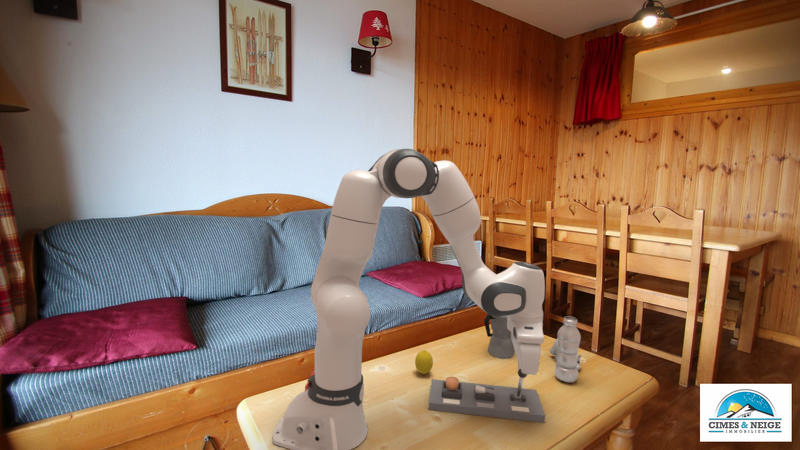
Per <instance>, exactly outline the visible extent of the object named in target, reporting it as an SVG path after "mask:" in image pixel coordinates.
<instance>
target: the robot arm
mask: <svg viewBox="0 0 800 450" xmlns="http://www.w3.org/2000/svg"><path fill="white" fill-rule="evenodd" d="M391 197H393V198H396V199H397V198H398V199H413V198H418V197H421V198H422V199H423V201H424V203H426V205H427V207H428V210H429V211H430V214H431V216H432V218H433V220H434V222H435V224H436V226H437V228H438V229H439V230H440V232H441V234H442V235H443V236H444V238H445V239H446V241H448V243H449V245H450V247H451V250H452V251H453V254H454V257H455V259H456V261H457V263H458V266H459V268H460V272H461V288H462V291H463V293H464V295H465V297H466V298H468V299H469V300H471V302H474V303H475V304H476V306H478V307H479V308H480V309H481V310H482V311H484V312H485V313H486V315H488V314H489V315H491V316H494V317H502V316H507V315H508V316H507V328H508V330H509V331H511V340H512V343H513V346H514V354H515V357H516V358H517V371H518V370H519V369H520V368H521V372H522V373H523V374H527V375H532V376H533V375H534V376H535V375H537V374H538V371H539V367H540V360H541V352H542V346H541V345H543V344H544V342H545V336H544V330H543V326H544V323H543V321H544V311H543V303H544V300H545V292H546V291H545V290H546V289H545V287H546V284H545V283H546V282H545V275H544V271H543V269H542V268H540V267H539V266H538V265H536V264H533V263H530V262H525V261H514V262H513V263H512V265H510V266H509V267H508V268H506V269H504V270H503V271H501V272H499V273H497V274H496V273H495V272H494V271H493V270H491V269H490V268H489V267H488V266H486V265H485V263H484V262H483V260H482V257H481V255H480V254H481V253H480V252H479V250H478V247H477V245H476V242H475V238H474V235H475V233H477V231H478V230H479V228H480V226H481V223H482V216H481V212H480V207H479V204H478V202H477V200H476V198H475V195H474V193H473V191H472V189H471V187H470V185H469V183H468V181H467V180H466V178H465V176H464V175H463V173H462V171H461V170H460V169H459V168H458V166H457V165H456V164H455V162H453V161H450V160H438V161H434V162H433V160H431V159H430V158H428V157H427V156H426V155H424V154H423V153H421V152H420V151H418V150H416V149H413V148H402V149H401V148H400V149H399V148H396V149H393V150H391V151H390V150H389V151H388V152H386V153H384V154H383V155H381V156H380V157H379V158H378V159H377V160H376V161H375V162H374V163H373V165H372V166H370V168H369V169H368V170H362V169H361V170H360V169H355V170H351V171H349V172H347V173H345V174H344V176H342V178H341V181H340V183H339V186H338V188H337V191H336V194H335V196H334V200H333V204H332V208H331V212H330V217H329V223H328V226H327V227H328V228H327V230H326V237H325V240H324V242H325V243H324V246H323V249H322V253H321V255H320V260H319V261H318V265H317V268H316V271H315V273H314V278H313V281H312V284H311V289H310V299H311V302H312V304H313V307H314V310H315V313H316V314H315V315H316V319H317V321H316V323H317V325H316V326H317V327H316V329H317V330H316V338H315V339H316V340H315V345H314V369H313V370H312V371H311V373H310V377H308V379H307V382H306V384H305V386H304V391H302V392H300V393H299V394H298V395H296V396H295V397H294V398H293V399H292V400H291V401H290V403H289V404H288V406H287V408H286V410H285V412H284V414H283V416H282V417H281V418H280V419H279V420H278V422H277V424H276V425H275V427H274V430H273V434H272V443H273V444H274V445H276V446H278V447H279V446H280V447H282V448H285V449H289V450H353V449H355V448H356V447H358V446H359V445H361V444H362V443H363V442H364V441H365V439H366V437H367V436H368V432H369V428H368V424H367V421H366V418H365V412H364V405H363V402H364V401H363V400H364V395H365V391H364V389H365V388H364V387H365V384H364V376H363V374H362V371H363V370H362V369H363V368H362V364H363V363H362V361H363V360H362V357H363V356H362V355H363V352H362V351H363V341H364V337H365V333H366V328H367V327H368V325H369V323H370V318H371V310H370V304H369V300H368V298H367V296H366V294H365V293H364V292H363V291H362V290H361V288H360V280H361V277H362V275H363V272H364V271H365V267H366V265H367V263H368V262H369V261H370V259H371V258H372V255H373V252H374V251H373V250H374V247H375V241H376V238H377V234H378V233H377V231H378V226H379V222H380V216H381V211H382V208H383V207H384V206H383V205H384V204H385V202H386V201H387V200H388V199H390V198H391Z"/></svg>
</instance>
